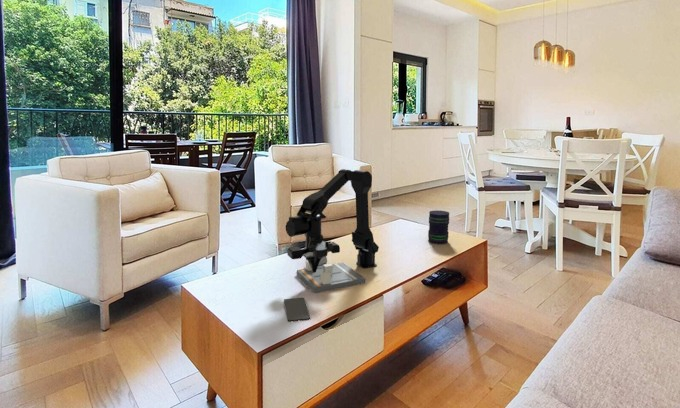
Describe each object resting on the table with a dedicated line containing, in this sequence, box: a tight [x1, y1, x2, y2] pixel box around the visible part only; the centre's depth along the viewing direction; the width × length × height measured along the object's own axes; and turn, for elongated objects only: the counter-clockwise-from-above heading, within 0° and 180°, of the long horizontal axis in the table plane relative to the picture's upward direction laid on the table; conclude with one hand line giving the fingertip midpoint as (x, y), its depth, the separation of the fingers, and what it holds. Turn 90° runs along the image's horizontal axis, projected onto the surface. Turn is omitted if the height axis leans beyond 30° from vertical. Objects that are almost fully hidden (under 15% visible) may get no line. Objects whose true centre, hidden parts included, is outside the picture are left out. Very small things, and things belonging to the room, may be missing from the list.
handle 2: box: [321, 272, 331, 285], centre depth 140 cm, size 3×2×4 cm
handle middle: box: [322, 263, 333, 275], centre depth 148 cm, size 3×2×4 cm
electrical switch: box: [303, 247, 328, 267], centre depth 165 cm, size 9×5×9 cm, turn 141°
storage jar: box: [427, 210, 450, 245], centre depth 196 cm, size 10×10×15 cm
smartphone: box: [283, 296, 311, 323], centre depth 125 cm, size 7×1×15 cm
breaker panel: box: [296, 262, 367, 294], centre depth 149 cm, size 20×19×2 cm
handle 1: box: [305, 259, 312, 271], centre depth 153 cm, size 3×2×4 cm
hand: (314, 272), depth 146 cm, fingers closed
